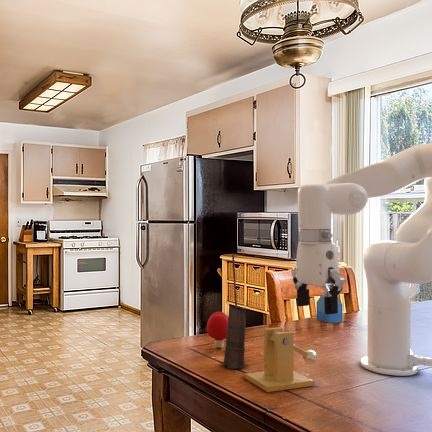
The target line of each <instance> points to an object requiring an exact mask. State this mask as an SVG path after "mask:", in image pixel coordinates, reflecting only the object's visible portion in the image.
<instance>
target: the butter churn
mask: <svg viewBox="0 0 432 432" xmlns="http://www.w3.org/2000/svg"><path fill="white" fill-rule="evenodd" d="M231 260H232V276H233V277H232V278H233V291H234V292H233V293H234V306H229V308H228V315H227V316H228V327H227V336H226V339H225V345H224V346H225V347H224V355H223V366H224V367H227V369H235V370H237V369H240V370H241V369H242V368H244V367H245V351H246V348H245V346H246V345H245V343H246V342H245V341H246V310H247V309H246V307H242V306H238V300H237V298H238V297H237V295H238V294H237V283H236V265H235V254H231Z"/></svg>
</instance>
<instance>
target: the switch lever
mask: <svg viewBox="0 0 432 432" xmlns="http://www.w3.org/2000/svg"><path fill="white" fill-rule="evenodd" d="M275 333H279V332H278V331H275V330H274V331H273V333H272V335H271V337H270V340H271V341H273V342H275ZM294 352H296V353H298V354H299V355H301V356H302V359H303V361H304V362H305V363H306V364H308V365H314V364H315V363H316V362H317V360H318V355H317V353H316V352H315V351H314V350H312V349H306V350H304V349H302V348H300V347H299V346H297V345H295V344H294Z"/></svg>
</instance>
